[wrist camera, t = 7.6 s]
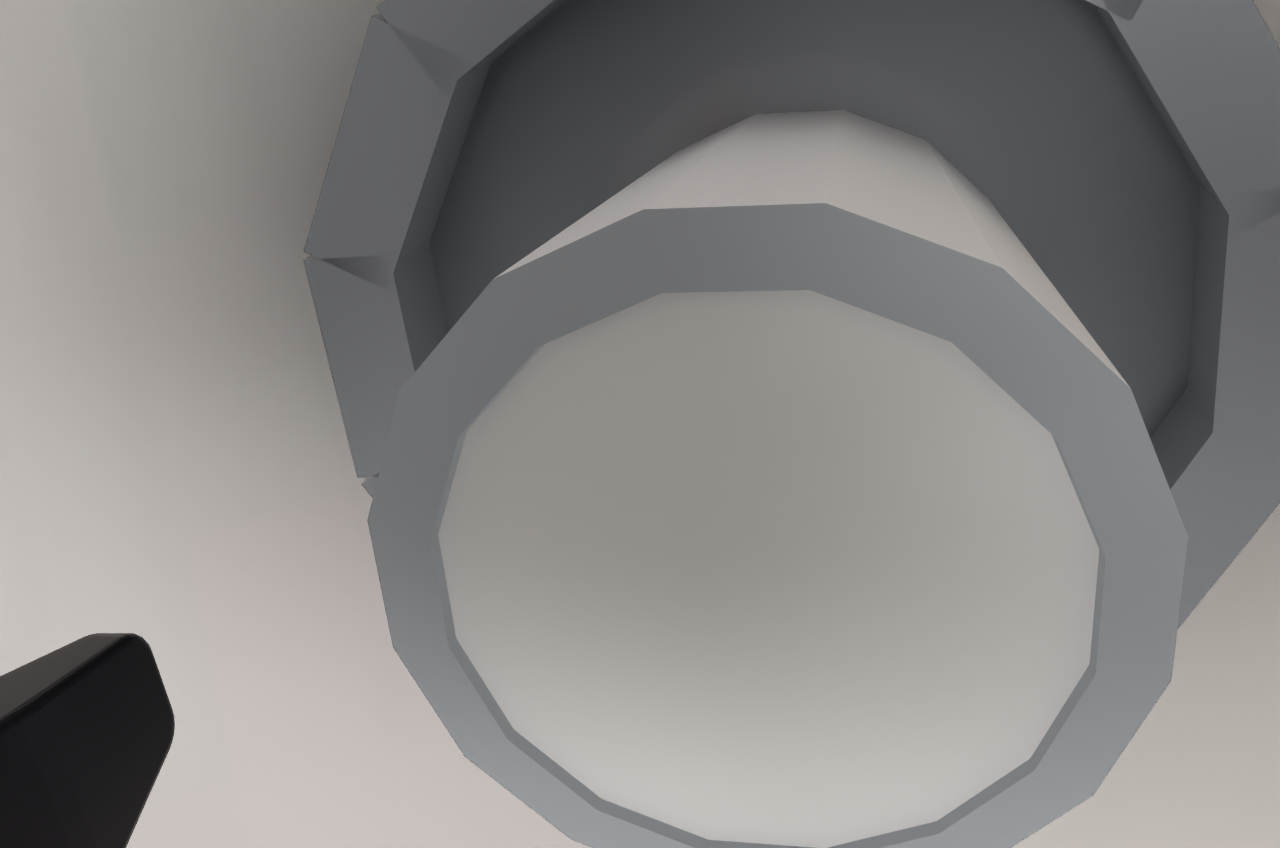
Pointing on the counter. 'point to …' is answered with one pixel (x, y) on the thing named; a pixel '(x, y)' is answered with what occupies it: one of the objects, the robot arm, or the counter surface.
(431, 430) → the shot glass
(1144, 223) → the tray
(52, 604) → the counter surface
